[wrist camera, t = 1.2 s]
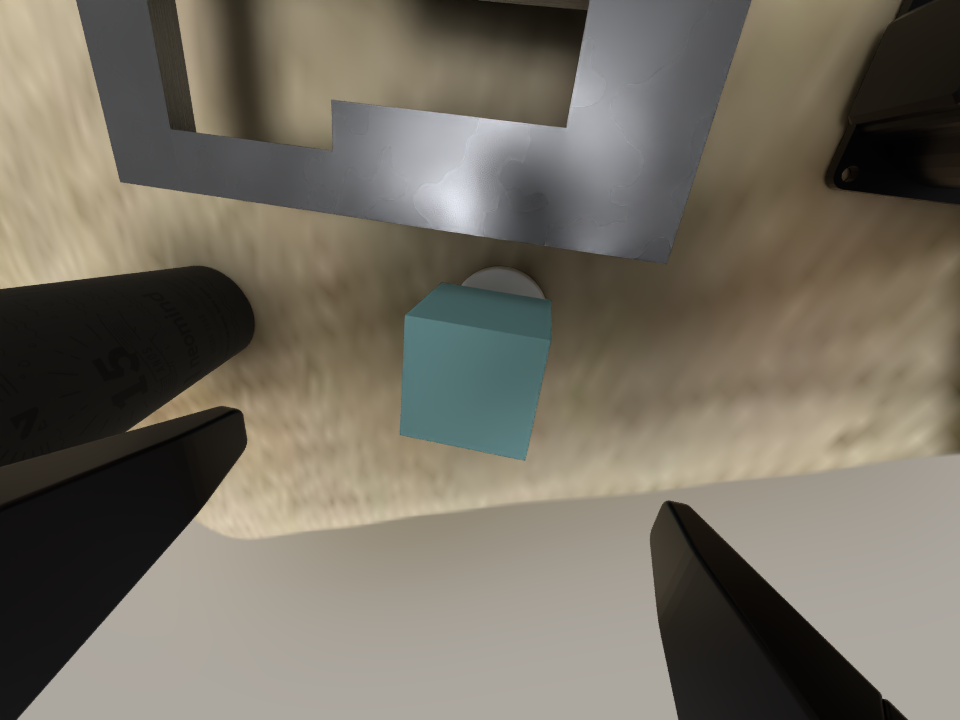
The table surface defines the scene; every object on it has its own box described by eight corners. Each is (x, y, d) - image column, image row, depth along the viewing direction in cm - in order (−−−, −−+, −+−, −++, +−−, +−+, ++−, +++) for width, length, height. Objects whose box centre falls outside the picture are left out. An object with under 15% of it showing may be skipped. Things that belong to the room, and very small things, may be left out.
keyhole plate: (717, -56, 12) (813, -195, 8) (634, 241, 16) (666, 264, 12) (191, -93, 14) (21, -224, 10) (229, 182, 18) (120, 182, 13)
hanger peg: (556, 274, 17) (560, 334, 10) (538, 364, 19) (530, 467, 12) (458, 259, 18) (398, 306, 11) (449, 348, 19) (393, 438, 13)
